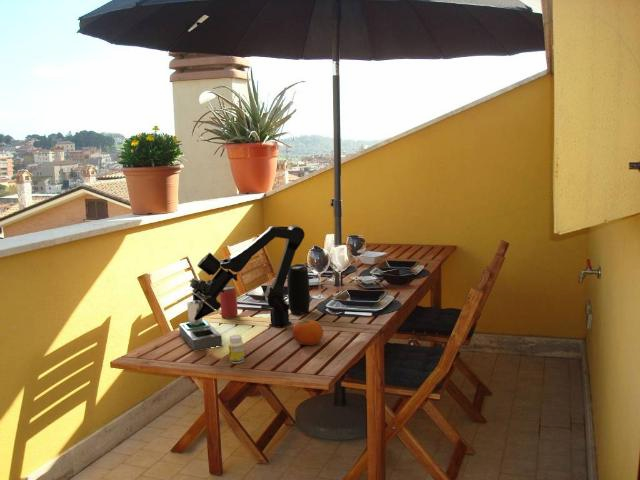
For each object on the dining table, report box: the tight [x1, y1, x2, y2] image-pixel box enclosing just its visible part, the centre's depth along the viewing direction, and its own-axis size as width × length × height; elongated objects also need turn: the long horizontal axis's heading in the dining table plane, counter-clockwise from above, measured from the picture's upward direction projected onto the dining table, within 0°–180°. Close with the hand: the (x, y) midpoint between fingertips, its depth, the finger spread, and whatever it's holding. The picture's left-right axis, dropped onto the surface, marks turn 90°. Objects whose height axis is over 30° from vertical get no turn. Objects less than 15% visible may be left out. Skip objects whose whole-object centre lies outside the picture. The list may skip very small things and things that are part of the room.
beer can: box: [219, 285, 239, 319], centre depth 256 cm, size 7×7×12 cm
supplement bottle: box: [228, 334, 245, 364], centre depth 205 cm, size 5×5×8 cm
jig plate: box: [178, 319, 223, 351], centre depth 228 cm, size 22×10×4 cm, turn 25°
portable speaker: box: [286, 263, 311, 316], centre depth 257 cm, size 9×9×20 cm
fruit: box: [292, 319, 324, 346], centre depth 219 cm, size 11×10×8 cm
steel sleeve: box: [186, 299, 204, 328], centre depth 232 cm, size 5×5×13 cm
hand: (191, 316), depth 231 cm, fingers open, 9 cm apart
